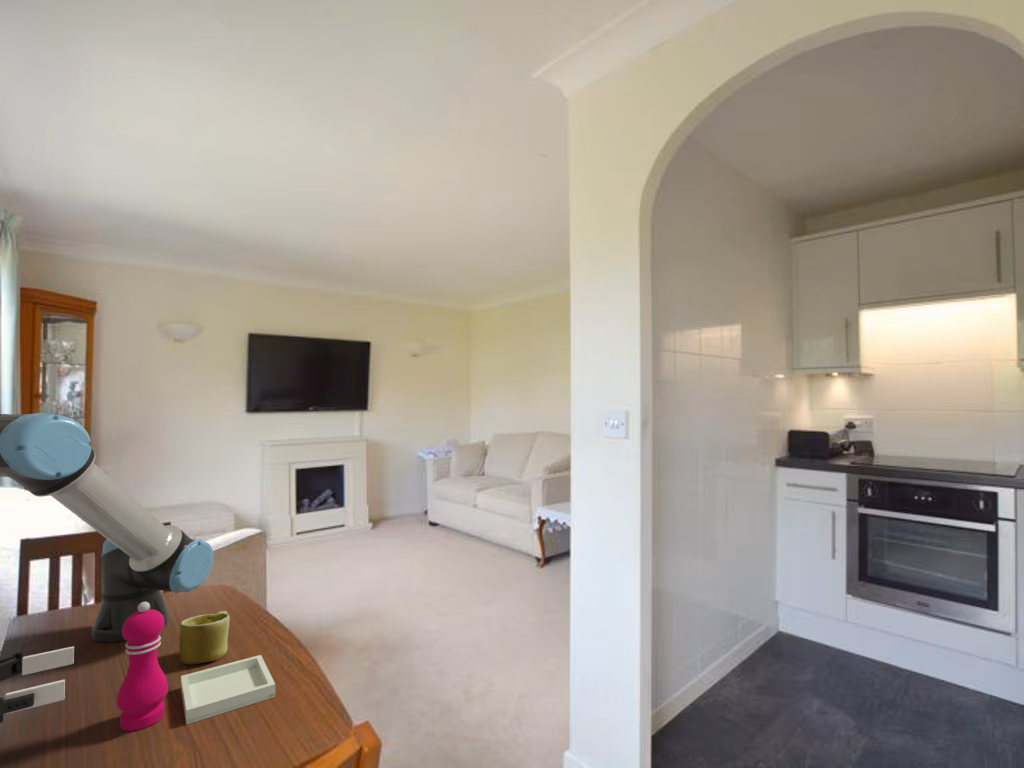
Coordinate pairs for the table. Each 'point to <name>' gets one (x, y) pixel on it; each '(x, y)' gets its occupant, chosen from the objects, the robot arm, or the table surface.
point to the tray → (226, 688)
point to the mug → (204, 638)
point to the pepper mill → (142, 671)
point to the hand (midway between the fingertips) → (69, 670)
